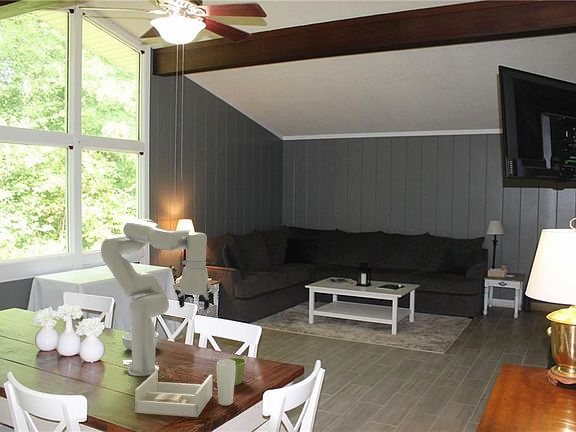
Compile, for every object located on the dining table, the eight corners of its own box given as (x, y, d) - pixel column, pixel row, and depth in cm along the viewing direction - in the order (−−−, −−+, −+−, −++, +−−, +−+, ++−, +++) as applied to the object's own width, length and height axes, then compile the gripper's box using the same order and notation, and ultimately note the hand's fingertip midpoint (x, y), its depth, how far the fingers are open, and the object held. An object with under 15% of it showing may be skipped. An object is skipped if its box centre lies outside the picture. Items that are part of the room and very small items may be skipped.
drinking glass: (232, 407, 193) (232, 366, 192) (213, 406, 195) (213, 364, 194) (237, 400, 200) (237, 360, 199) (219, 398, 201) (220, 358, 200)
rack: (135, 412, 188) (135, 389, 187) (155, 392, 207) (155, 371, 206) (197, 417, 185) (197, 393, 185) (212, 395, 204) (212, 374, 204)
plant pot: (226, 388, 212) (226, 366, 212) (219, 380, 221) (219, 358, 220) (249, 385, 216) (249, 363, 215) (241, 377, 224) (242, 356, 224)
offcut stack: (150, 412, 189) (150, 398, 189) (155, 406, 194) (155, 393, 194) (183, 414, 188) (184, 400, 188) (188, 408, 193) (188, 395, 192)
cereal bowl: (131, 343, 269) (131, 329, 269) (164, 345, 267) (164, 331, 266) (115, 353, 252) (115, 338, 252) (150, 356, 250) (150, 340, 249)
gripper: (170, 264, 210) (169, 308, 211) (214, 267, 208) (212, 312, 209) (177, 261, 217) (175, 303, 219) (220, 264, 215) (218, 307, 216)
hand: (193, 308), depth 214 cm, fingers open, 9 cm apart
